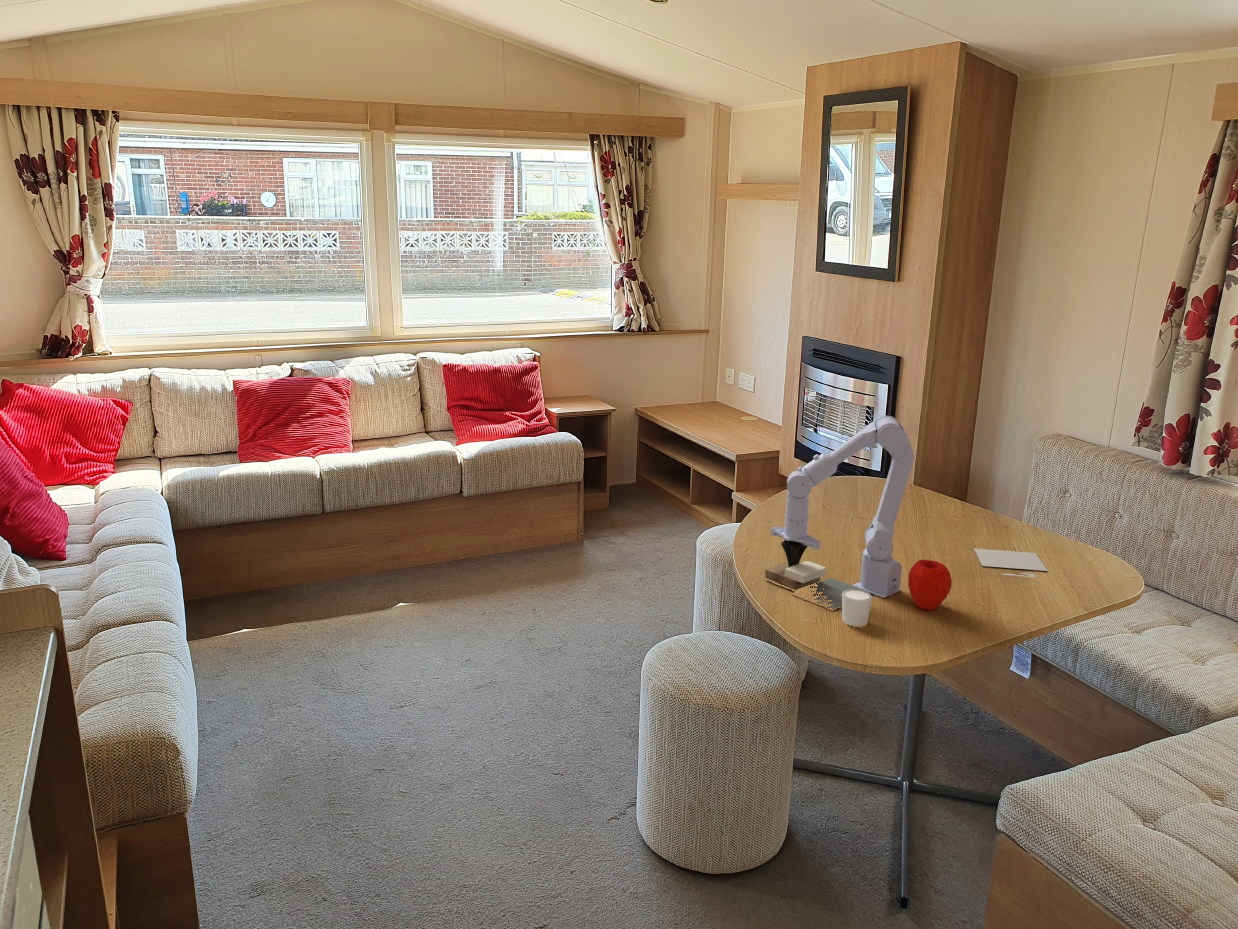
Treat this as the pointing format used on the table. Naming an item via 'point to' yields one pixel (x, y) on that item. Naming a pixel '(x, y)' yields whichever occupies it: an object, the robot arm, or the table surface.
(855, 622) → the white cylinder
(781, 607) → the table surface
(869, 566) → the robot arm
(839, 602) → the mat
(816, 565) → the cream rectangular block
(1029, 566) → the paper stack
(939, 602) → the apple
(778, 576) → the riser
